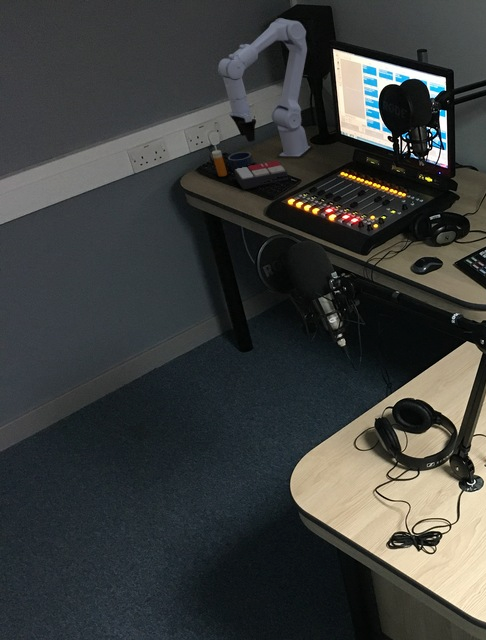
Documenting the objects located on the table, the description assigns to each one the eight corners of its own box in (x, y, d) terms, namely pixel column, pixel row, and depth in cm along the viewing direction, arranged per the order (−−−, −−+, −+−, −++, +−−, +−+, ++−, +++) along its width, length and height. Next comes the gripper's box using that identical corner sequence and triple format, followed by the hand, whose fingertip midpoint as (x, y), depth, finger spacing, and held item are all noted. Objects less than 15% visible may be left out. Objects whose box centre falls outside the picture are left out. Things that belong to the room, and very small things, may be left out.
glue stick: (221, 174, 286) (214, 149, 281) (229, 174, 285) (222, 150, 280) (216, 177, 284) (210, 153, 279) (224, 177, 283) (218, 153, 278)
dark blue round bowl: (237, 162, 294) (235, 151, 292) (258, 163, 292) (255, 152, 290) (226, 171, 288) (223, 160, 286) (247, 171, 286) (244, 160, 284)
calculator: (286, 169, 276) (240, 177, 270) (289, 181, 278) (243, 190, 272) (278, 159, 284) (233, 167, 278) (280, 171, 286) (235, 179, 280)
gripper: (219, 95, 279) (230, 135, 287) (231, 105, 268) (242, 146, 276) (240, 90, 281) (250, 130, 289) (253, 100, 271) (263, 141, 279)
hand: (248, 138), depth 283 cm, fingers open, 7 cm apart
